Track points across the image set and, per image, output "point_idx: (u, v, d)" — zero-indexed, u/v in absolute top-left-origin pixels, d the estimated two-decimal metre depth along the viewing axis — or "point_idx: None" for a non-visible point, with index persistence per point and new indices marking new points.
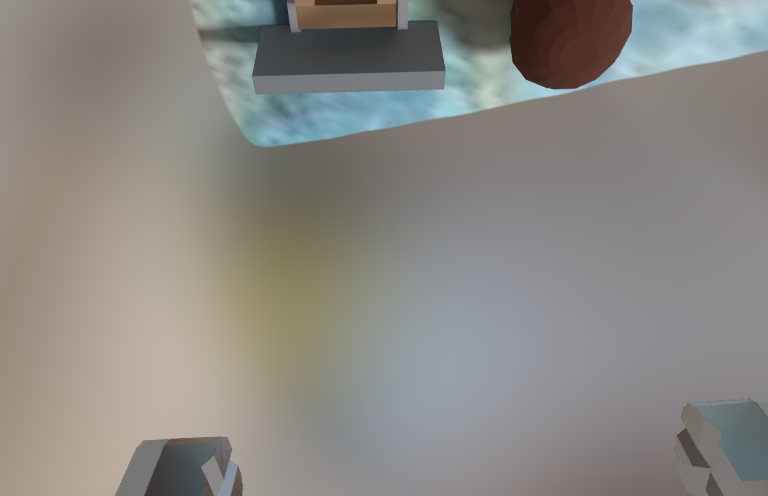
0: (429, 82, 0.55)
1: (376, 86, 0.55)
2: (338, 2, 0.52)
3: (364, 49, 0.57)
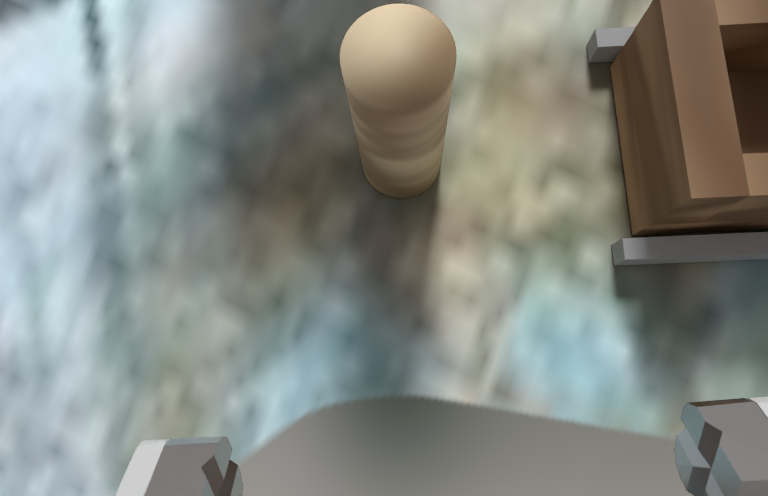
0: None
1: None
2: None
3: None
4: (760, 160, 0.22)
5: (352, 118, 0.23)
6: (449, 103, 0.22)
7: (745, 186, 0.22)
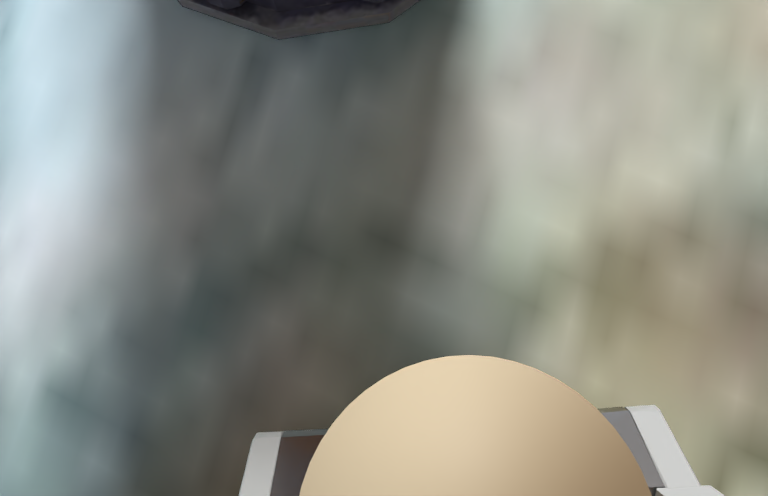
0: None
1: None
2: None
3: None
4: None
5: None
6: None
7: None
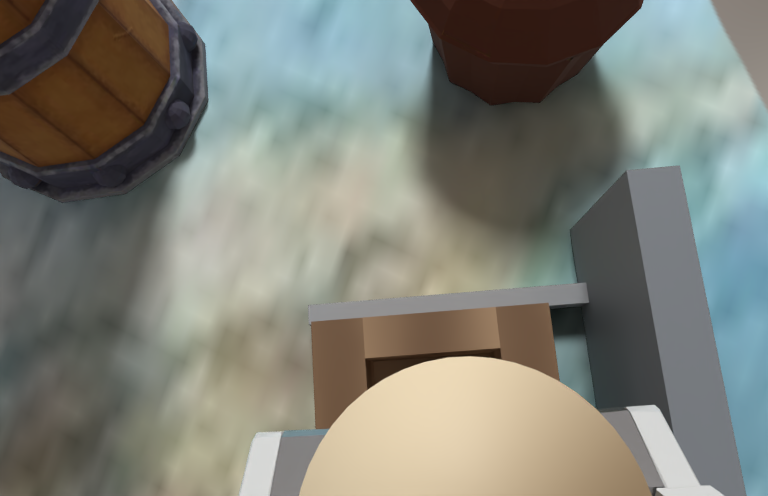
0: (665, 203, 0.22)
1: (699, 336, 0.21)
2: None
3: (624, 372, 0.24)
4: None
5: None
6: None
7: None
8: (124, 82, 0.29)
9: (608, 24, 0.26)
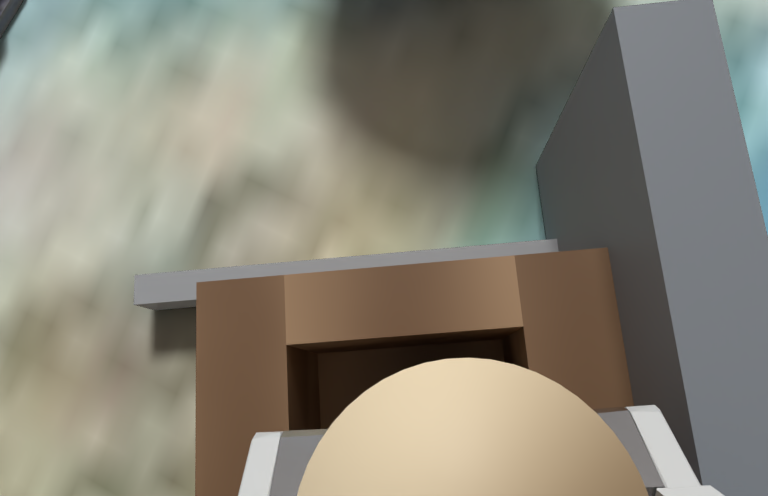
0: (685, 63, 0.12)
1: (754, 310, 0.10)
2: None
3: None
4: None
5: None
6: None
7: None
8: None
9: None
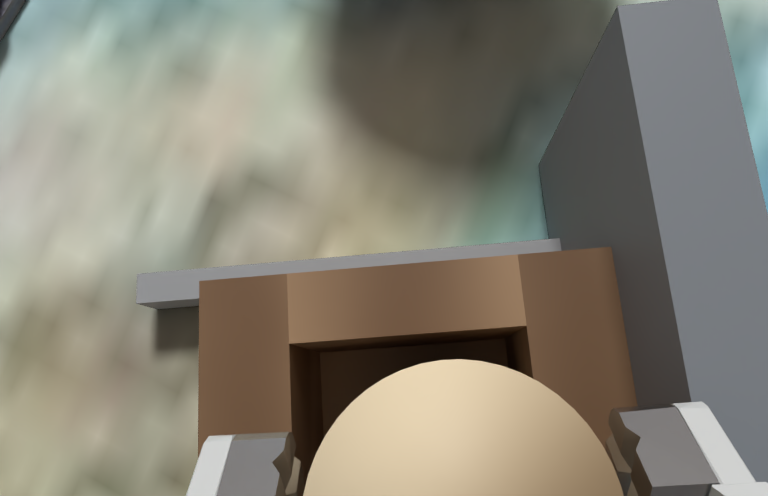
0: (689, 61, 0.12)
1: (759, 309, 0.10)
2: None
3: None
4: None
5: None
6: None
7: None
8: None
9: None
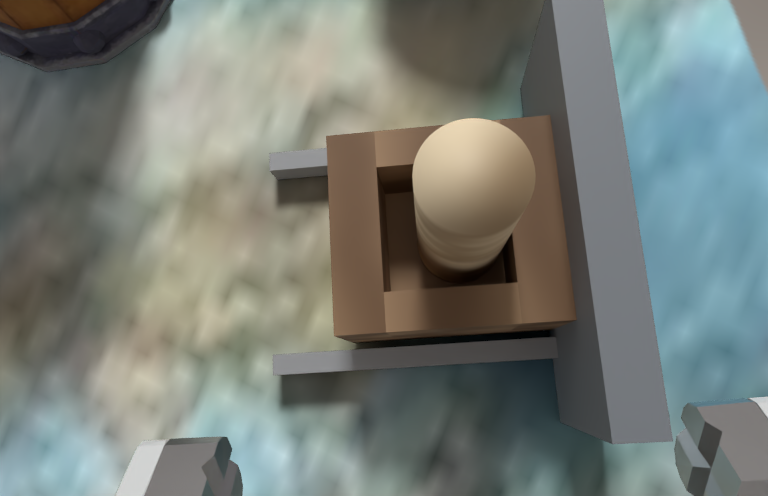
0: (584, 11, 0.23)
1: (609, 127, 0.22)
2: None
3: None
4: (399, 298, 0.24)
5: (418, 224, 0.22)
6: None
7: (382, 323, 0.24)
8: None
9: None
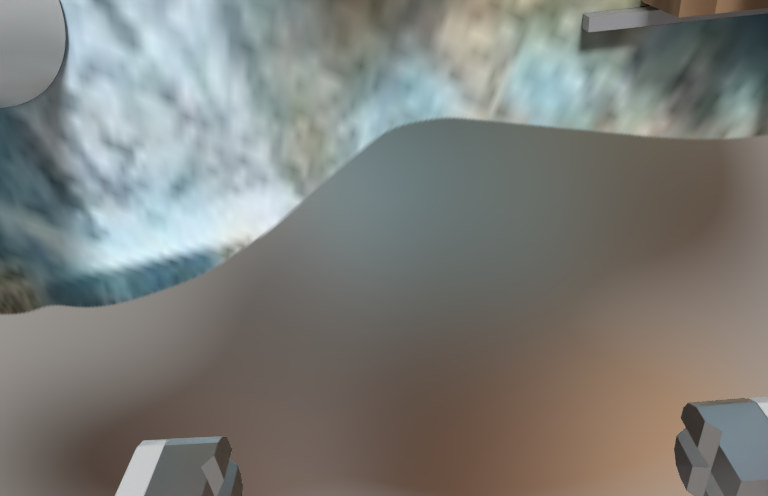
0: None
1: None
2: None
3: None
4: None
5: None
6: None
7: (714, 7, 0.36)
8: None
9: None
